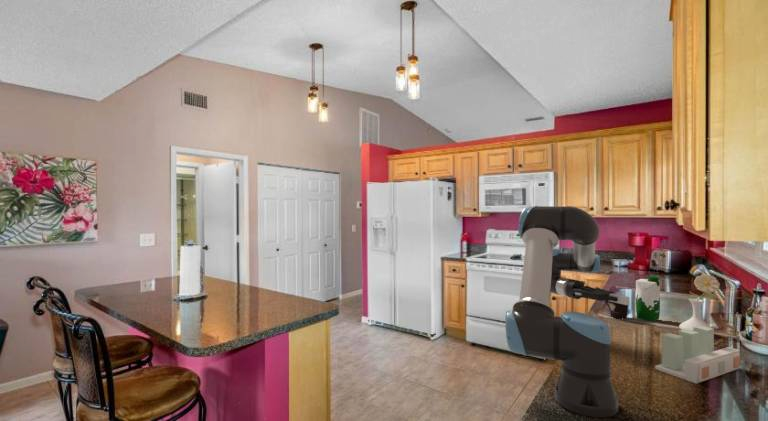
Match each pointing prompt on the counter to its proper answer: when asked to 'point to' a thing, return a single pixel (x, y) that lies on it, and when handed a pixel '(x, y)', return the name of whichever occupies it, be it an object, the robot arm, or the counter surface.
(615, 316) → the coffee mug
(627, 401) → the counter surface
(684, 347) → the middle button
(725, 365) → the pattern card
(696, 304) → the flower in vase
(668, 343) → the pale green tall block
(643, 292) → the milk carton
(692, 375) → the button panel
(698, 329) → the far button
